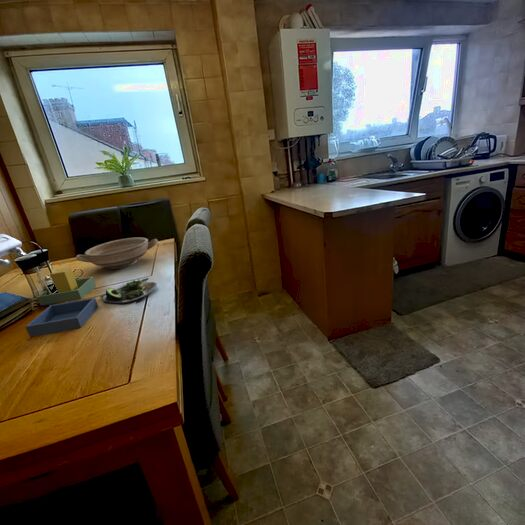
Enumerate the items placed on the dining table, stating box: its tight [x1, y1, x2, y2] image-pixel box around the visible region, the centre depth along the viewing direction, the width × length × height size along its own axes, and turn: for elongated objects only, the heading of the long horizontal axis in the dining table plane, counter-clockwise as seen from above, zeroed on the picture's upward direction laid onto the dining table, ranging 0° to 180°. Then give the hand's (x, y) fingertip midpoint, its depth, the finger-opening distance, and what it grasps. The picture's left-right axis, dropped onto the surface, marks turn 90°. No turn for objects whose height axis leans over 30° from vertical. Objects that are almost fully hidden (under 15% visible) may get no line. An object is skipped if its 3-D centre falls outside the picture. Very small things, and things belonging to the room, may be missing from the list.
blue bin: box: [25, 297, 99, 338], centre depth 88 cm, size 14×13×4 cm
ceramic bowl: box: [75, 236, 158, 270], centre depth 139 cm, size 37×29×10 cm
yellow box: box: [50, 267, 79, 293], centre depth 107 cm, size 5×5×10 cm
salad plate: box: [99, 277, 158, 306], centre depth 103 cm, size 19×18×5 cm
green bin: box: [36, 276, 96, 307], centre depth 108 cm, size 14×13×4 cm
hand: (17, 260), depth 102 cm, fingers open, 8 cm apart
